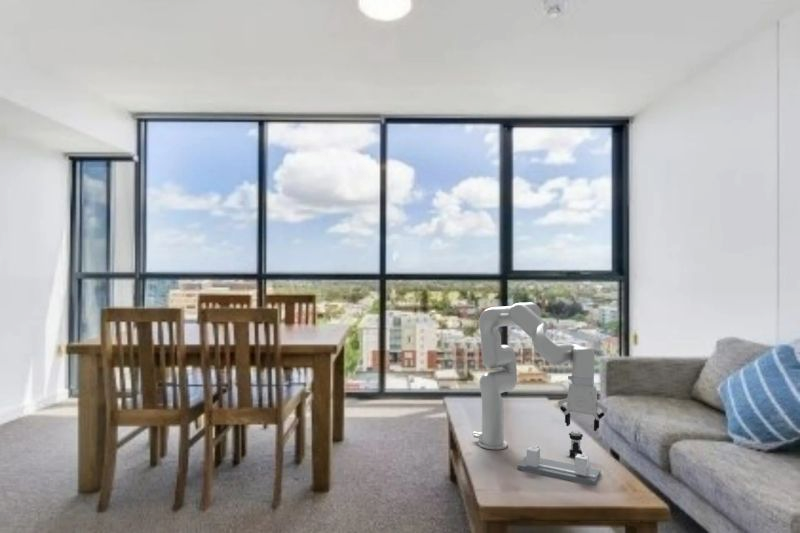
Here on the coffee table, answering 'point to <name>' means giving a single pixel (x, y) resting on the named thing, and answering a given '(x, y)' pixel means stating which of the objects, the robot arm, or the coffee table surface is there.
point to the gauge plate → (555, 468)
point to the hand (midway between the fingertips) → (581, 427)
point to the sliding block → (582, 464)
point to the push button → (575, 443)
